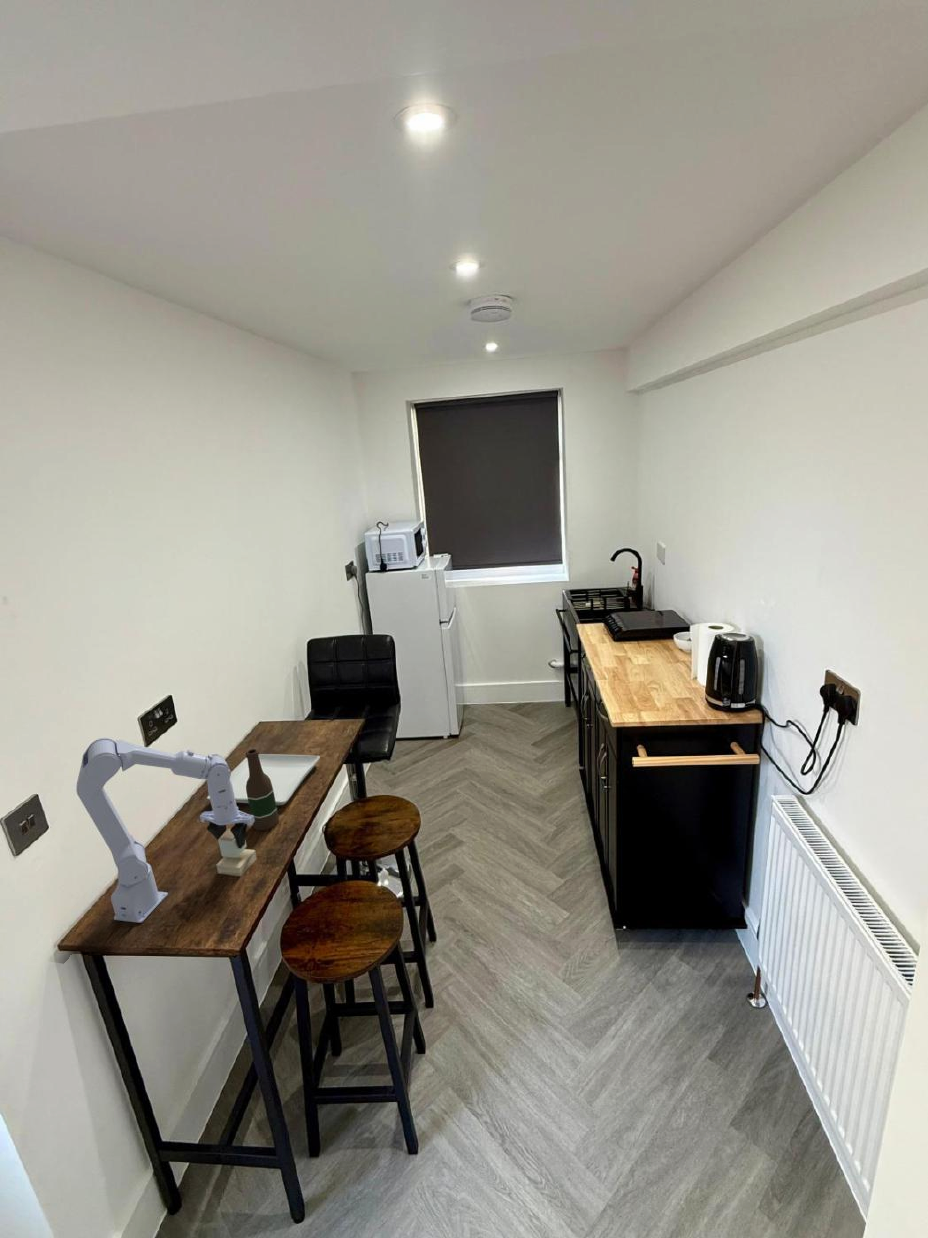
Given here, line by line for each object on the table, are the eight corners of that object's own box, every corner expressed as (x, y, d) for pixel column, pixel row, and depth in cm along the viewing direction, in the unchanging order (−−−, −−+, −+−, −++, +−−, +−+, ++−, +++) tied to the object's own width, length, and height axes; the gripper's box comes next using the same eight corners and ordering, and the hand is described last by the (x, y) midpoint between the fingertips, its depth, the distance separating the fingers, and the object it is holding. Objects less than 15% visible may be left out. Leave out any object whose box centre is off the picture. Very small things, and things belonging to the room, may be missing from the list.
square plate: (207, 808, 185) (204, 797, 184) (251, 762, 210) (249, 752, 209) (286, 811, 180) (284, 800, 179) (322, 764, 205) (320, 754, 204)
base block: (241, 877, 153) (239, 868, 152) (218, 874, 155) (216, 865, 154) (257, 859, 159) (255, 850, 158) (234, 856, 161) (232, 847, 160)
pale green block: (237, 857, 153) (233, 839, 151) (221, 856, 154) (217, 838, 152) (246, 846, 157) (242, 828, 156) (231, 845, 158) (227, 827, 157)
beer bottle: (282, 814, 178) (269, 743, 171) (276, 830, 170) (261, 757, 164) (257, 816, 178) (242, 745, 171) (249, 832, 170) (233, 759, 163)
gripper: (256, 793, 153) (265, 837, 157) (208, 790, 156) (218, 833, 160) (241, 809, 147) (251, 855, 151) (191, 806, 150) (202, 851, 154)
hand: (233, 845), depth 155 cm, fingers closed on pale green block, 4 cm apart
